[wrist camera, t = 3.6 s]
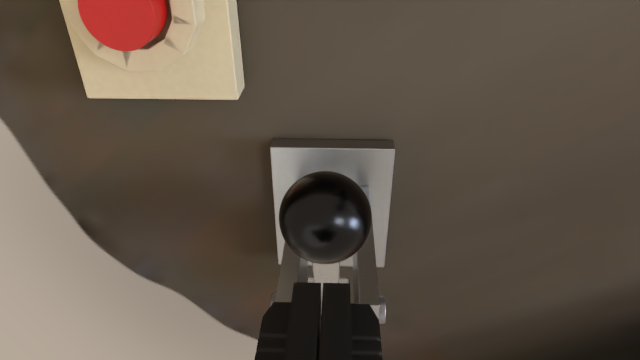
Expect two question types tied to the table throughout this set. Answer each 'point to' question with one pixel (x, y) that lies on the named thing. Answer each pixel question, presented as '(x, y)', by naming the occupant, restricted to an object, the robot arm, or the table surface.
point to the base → (375, 180)
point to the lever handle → (325, 222)
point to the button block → (166, 55)
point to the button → (123, 21)
